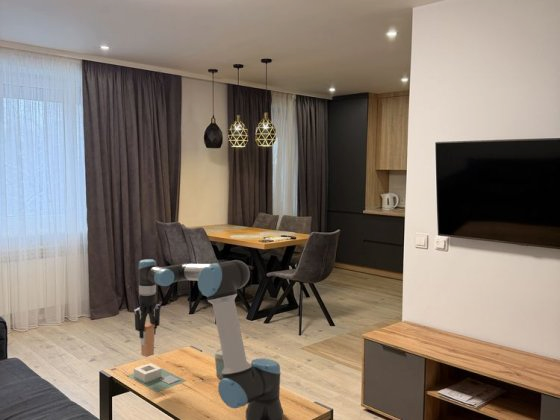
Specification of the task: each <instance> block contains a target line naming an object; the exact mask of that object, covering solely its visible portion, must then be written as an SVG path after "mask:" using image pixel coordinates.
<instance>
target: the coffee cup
mask: <svg viewBox="0 0 560 420" xmlns="http://www.w3.org/2000/svg"><path fill="white" fill-rule="evenodd" d="M213 357H214V360H215V361H214V362H215V370H216V378H218V379H220V380H222V379H223V377H222V371H223V369H224V367H225V366H224V361H223V356H222V350H221V348H220V349H218V350H216V351H215V353H214V356H213Z"/></svg>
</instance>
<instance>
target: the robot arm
mask: <svg viewBox="0 0 560 420" xmlns="http://www.w3.org/2000/svg"><path fill="white" fill-rule="evenodd" d="M156 262H157V261H156V260H155V259H152V258H151V259H148V258H147V259H142V260H140V261H139V262H138V293H139V295H138V303H139V305H138V307H137V308H136V309H135V308H134V309H133V314H134V328H135V329H134V330H135V331H138V335H139V336H138V337H139V339H140V345H141V344H142V345H146V333H145V331H144V327H145V323H147V322H146V321H147V317H148V319H149V323H152V324H154V325H155V327H154V336H155V335H156V331H157V328H158V327H160V322H161V321H160V317H161V315H160V314H161V308H162V305H161V304H158V303H157V302H156V301H157V295H156V293H157V285H158V286H161V287H168V286H170V285H172V284H173V283H178V282H182V281H194V282H195V281H197V287H198V290H199V292H201V295H202V296H205V297H206V299H207V302H208V303H210V304H212V308H213V313H214V314H213V315H214V319H215V324H216V329H217V334H218V339H219V344H220V349H221V350H222V356H223V361H224V366H225V367H224V369H223V371H222V377H223V379H220V381H219V383H218V387H217V388H218V389H217V390H218V394H219V397H220V399H221V400H222V402H223V403H225V405H226V406H227V407H229V408H230V409H231V408H232V409H239V408H241V407H245V406H246V405H247V407H246V409H245V419H246V420H282V418H283V419H284V410H283V407H282V404H281V399H280V393H281V392H280V390H281V366H280V364H279V363H278V362H277V361H276V360H273V359H270V358H260V357H259V358H255V359H252V360H251V362H248V361H247V357H246V350H245V346H244V342H243V335H242V331H241V325H240V321H239V317H238V316H239V315H238V310H237V306H236V302H235V300H236V297H237V296H238V290H239V289H242V288H243V287H245V286H246V284H247V283H248V282H249V280H250V277H251V276H250V275H251V272H250V269H249V266H248V265H247V264H246V263H245V262H243V261H242V260H239V259H234V260H228V261H222V262H214V263H193V262H184V263H181V264H176V265H175V264H174V265H169V266H162V267H161V266H157V263H156Z"/></svg>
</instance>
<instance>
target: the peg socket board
mask: <svg viewBox="0 0 560 420" xmlns="http://www.w3.org/2000/svg"><path fill="white" fill-rule="evenodd" d="M126 376H127V377H128V378H131V379H132V380H133V381H136V382H137V383H140V384H141V385H143V386H145V387H147V388H148V389H150V390H153V391H154V392H156V393H159V392H161V391H164V390H167V389H170V388H172V387H174V386H177V385H179V384H182V383H185V382H186V381H187V380H186V379H184V378H182V377H180V376H178V375H176V374H174V373H171V372H170V371H167V370H166V369H165V368H162V367H160V366H157V365H156V364H154V363H151V362H150V363H147V364H143V365H139V366H137V367H135V368H133V373H131V374H128V375H126Z"/></svg>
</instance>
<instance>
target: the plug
mask: <svg viewBox="0 0 560 420" xmlns="http://www.w3.org/2000/svg"><path fill="white" fill-rule="evenodd" d="M154 327H155V325H154V324H152V323H150V322H145V327H144V331H145V333H146V345H142V344H141V343H140V345H141V347H140V349H141V350H140V351H141V352H140V353H141V356H143V357H145V358H148V357H151V356H154V354H155V348H154V347H155V335H154Z"/></svg>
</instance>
